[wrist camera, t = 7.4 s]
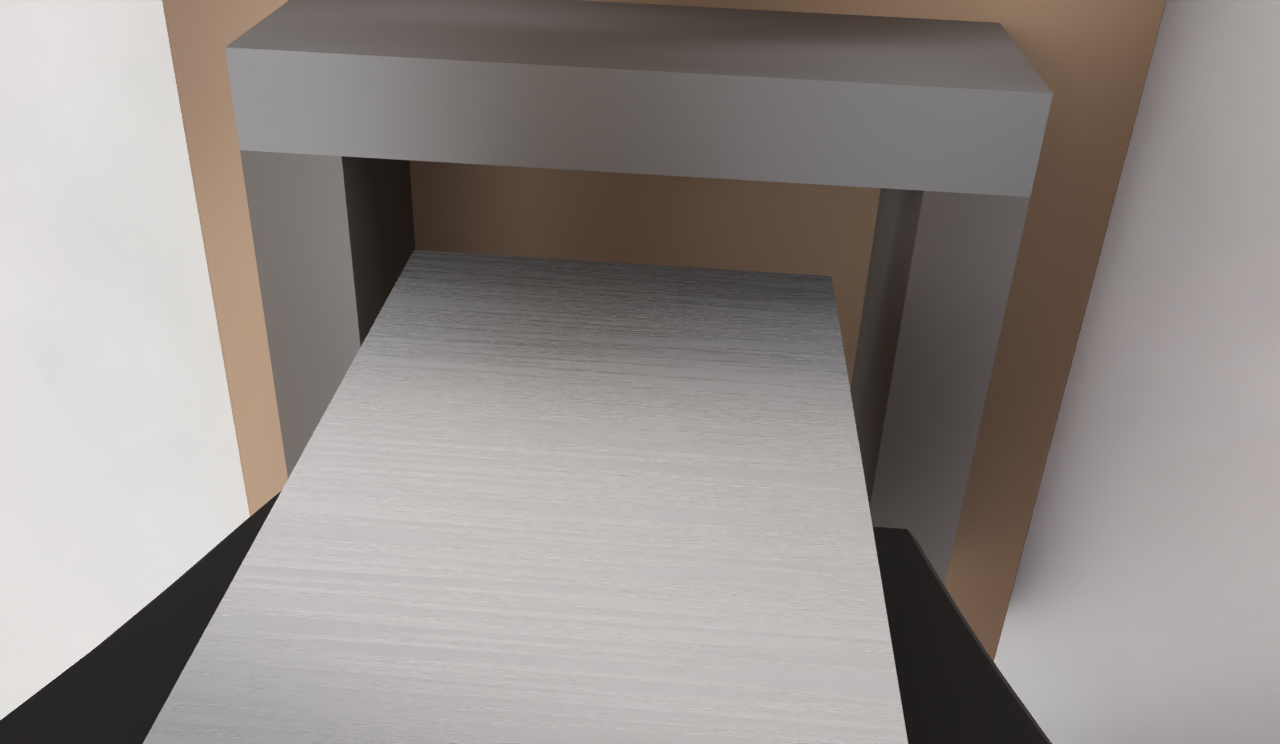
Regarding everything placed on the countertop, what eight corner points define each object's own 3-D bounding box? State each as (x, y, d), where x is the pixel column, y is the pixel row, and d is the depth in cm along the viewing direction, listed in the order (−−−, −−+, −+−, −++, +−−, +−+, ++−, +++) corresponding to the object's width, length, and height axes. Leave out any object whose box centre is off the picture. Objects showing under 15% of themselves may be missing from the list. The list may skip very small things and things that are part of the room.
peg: (832, 275, 11) (992, 1249, 4) (788, 595, 13) (851, 1597, 6) (414, 249, 11) (-79, 1148, 4) (436, 569, 13) (122, 1520, 6)
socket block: (1171, -153, 13) (1307, -99, 10) (981, 615, 18) (1030, 799, 15) (169, -200, 13) (1, -161, 10) (286, 563, 19) (202, 733, 16)
